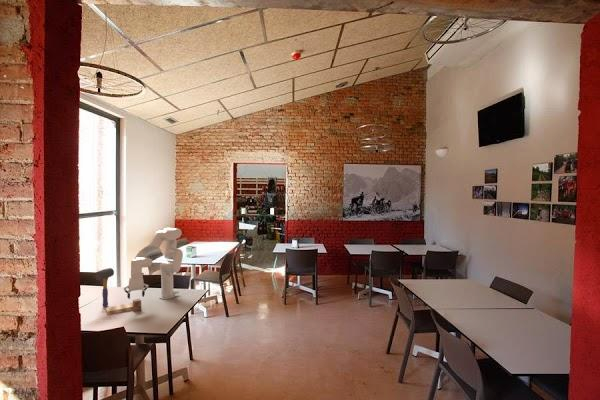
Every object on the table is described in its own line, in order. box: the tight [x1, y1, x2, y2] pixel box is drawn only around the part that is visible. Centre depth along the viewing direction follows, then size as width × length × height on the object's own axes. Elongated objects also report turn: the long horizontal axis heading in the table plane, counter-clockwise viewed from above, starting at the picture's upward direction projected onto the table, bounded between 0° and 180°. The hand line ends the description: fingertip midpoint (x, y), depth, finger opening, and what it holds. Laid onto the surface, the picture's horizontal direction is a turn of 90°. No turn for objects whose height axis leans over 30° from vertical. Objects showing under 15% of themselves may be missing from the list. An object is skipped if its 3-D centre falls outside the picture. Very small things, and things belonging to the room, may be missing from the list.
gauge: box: [132, 298, 142, 313], centre depth 251 cm, size 5×14×8 cm, turn 36°
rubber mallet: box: [94, 267, 115, 308], centre depth 255 cm, size 12×8×30 cm, turn 167°
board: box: [105, 302, 133, 316], centre depth 249 cm, size 23×10×3 cm, turn 126°
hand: (136, 297), depth 246 cm, fingers open, 9 cm apart
